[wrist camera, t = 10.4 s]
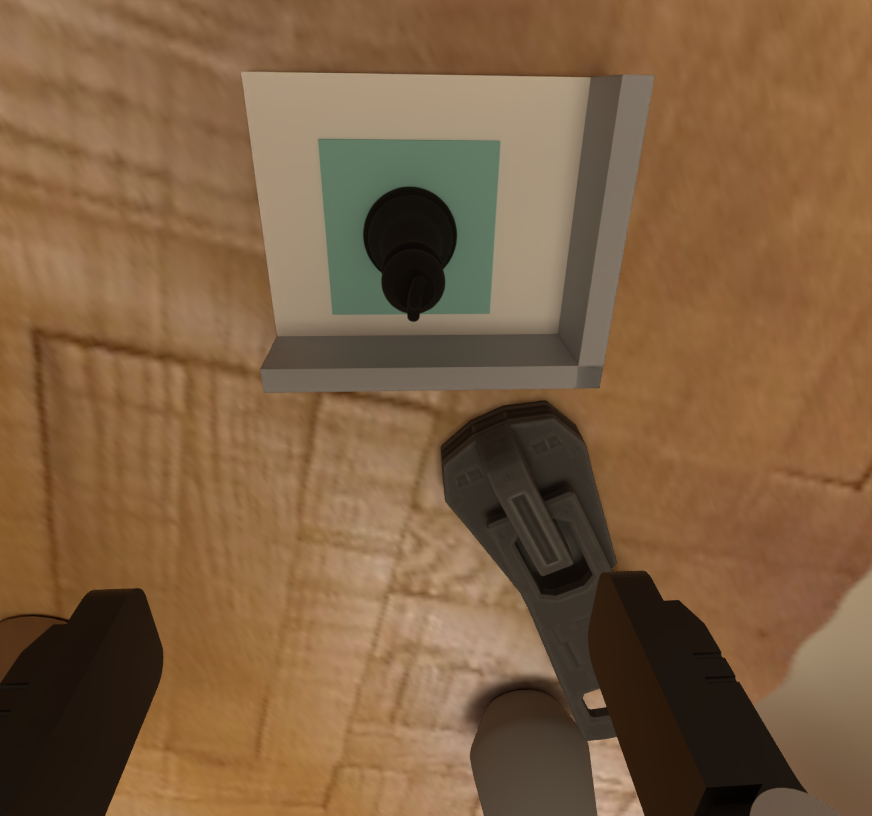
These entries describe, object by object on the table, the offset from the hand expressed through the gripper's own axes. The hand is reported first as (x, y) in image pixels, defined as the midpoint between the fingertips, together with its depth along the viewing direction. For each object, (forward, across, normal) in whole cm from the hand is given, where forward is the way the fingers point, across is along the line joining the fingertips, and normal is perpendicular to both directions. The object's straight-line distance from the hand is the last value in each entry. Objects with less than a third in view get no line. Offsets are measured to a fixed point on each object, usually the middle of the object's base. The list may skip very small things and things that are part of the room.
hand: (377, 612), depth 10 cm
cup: (+22, -10, +37) cm, 45 cm away
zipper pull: (+22, -11, +19) cm, 31 cm away
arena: (+22, -2, -3) cm, 22 cm away
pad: (+20, -1, -3) cm, 21 cm away
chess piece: (+20, -1, -3) cm, 20 cm away
